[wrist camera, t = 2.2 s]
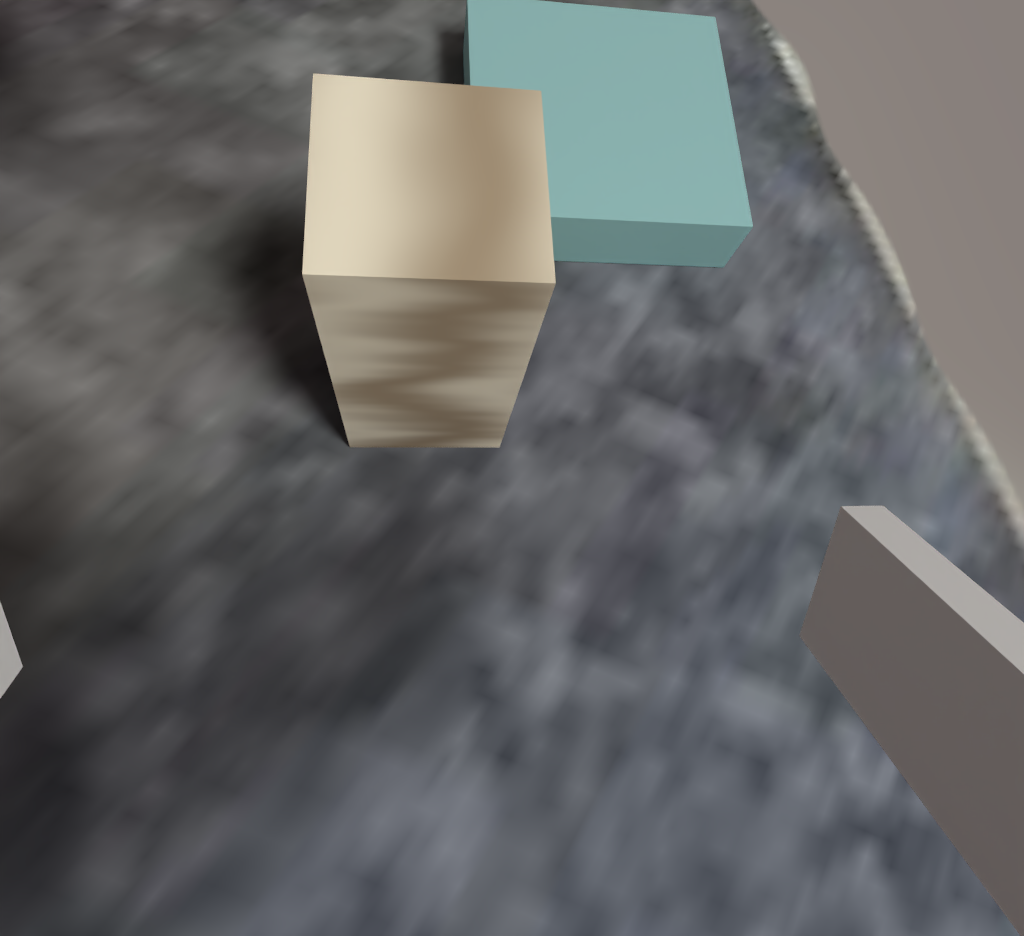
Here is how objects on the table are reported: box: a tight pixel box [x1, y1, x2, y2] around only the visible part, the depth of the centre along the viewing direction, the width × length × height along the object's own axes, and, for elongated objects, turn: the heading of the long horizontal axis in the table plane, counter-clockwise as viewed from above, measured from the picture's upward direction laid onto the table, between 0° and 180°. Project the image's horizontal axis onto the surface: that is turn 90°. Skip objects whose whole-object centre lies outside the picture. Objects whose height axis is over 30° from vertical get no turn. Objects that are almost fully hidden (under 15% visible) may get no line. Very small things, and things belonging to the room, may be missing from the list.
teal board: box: [463, 0, 753, 267], centre depth 32 cm, size 12×12×3 cm
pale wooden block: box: [302, 74, 556, 447], centre depth 23 cm, size 6×6×12 cm
